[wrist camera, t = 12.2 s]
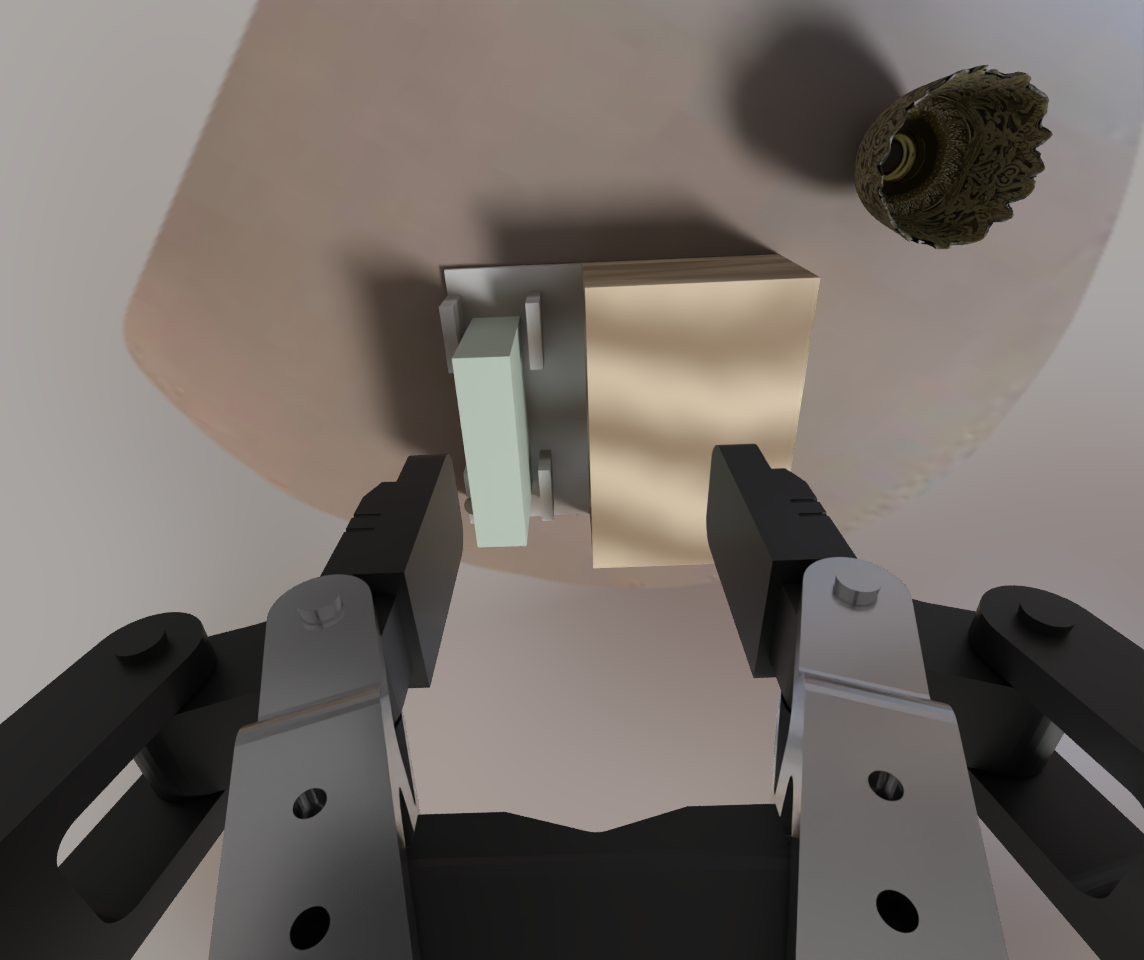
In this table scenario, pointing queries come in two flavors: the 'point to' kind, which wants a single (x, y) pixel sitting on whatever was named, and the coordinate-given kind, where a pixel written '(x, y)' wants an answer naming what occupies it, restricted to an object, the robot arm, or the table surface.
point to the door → (495, 429)
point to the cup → (954, 156)
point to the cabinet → (646, 384)
